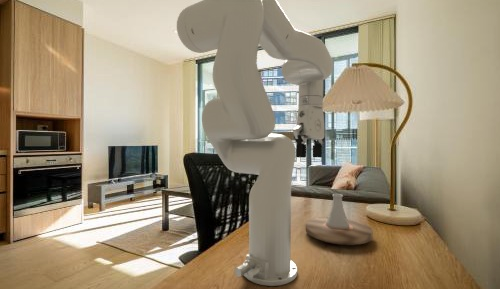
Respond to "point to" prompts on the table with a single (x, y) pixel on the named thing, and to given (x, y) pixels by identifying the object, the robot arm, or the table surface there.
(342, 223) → the flask
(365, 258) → the table surface
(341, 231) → the turntable
